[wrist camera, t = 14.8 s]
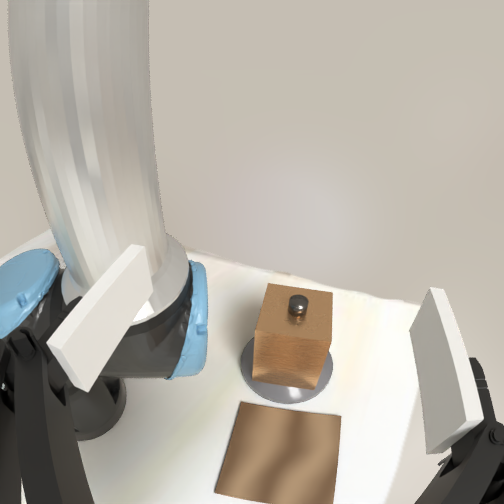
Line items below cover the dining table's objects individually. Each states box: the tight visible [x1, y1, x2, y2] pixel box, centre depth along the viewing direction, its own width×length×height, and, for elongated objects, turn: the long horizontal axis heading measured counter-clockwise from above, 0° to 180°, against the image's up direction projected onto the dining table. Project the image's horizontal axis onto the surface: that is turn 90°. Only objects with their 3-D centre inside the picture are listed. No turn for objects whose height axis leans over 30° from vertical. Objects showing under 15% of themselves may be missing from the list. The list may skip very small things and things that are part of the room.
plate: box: [241, 337, 333, 404], centre depth 44 cm, size 14×14×1 cm
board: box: [215, 402, 341, 504], centre depth 32 cm, size 14×14×1 cm
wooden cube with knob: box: [252, 283, 333, 390], centre depth 40 cm, size 9×9×13 cm
